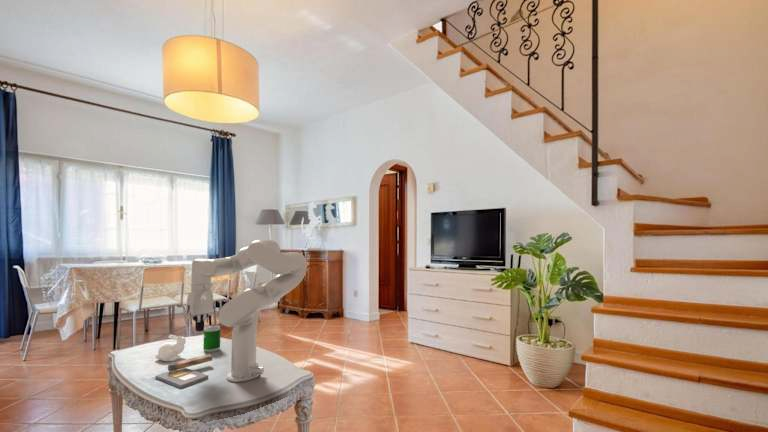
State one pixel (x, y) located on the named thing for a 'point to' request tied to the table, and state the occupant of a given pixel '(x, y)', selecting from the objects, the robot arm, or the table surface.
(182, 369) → the label board
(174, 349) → the rabbit
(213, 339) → the soda can
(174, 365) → the swing bar
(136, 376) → the table surface
